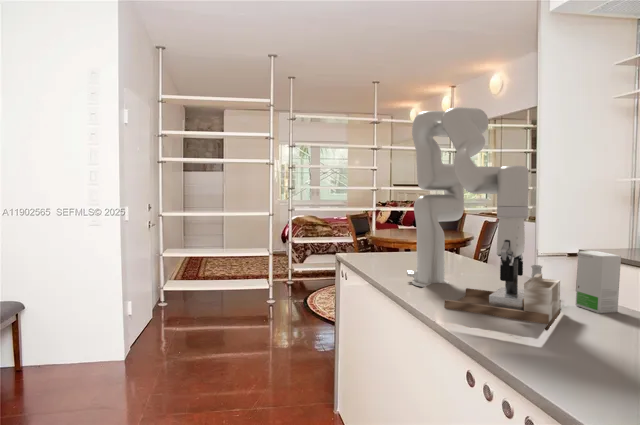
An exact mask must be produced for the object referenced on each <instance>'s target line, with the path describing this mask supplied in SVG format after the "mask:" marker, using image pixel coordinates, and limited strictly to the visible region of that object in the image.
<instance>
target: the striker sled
mask: <svg viewBox="0 0 640 425" xmlns="http://www.w3.org/2000/svg"><path fill="white" fill-rule="evenodd" d="M513 266H514V281H513V282H509V281H504V283H505V284H504V286H502V287H499V288H498V289H496V290H495V291H494V293H492V294H491V295H489V306H495V307H502V308H509V309H516V310H523V311H524V289H521V288H519V285H518V284H519V282H518V280H519V275H518V259H514V261H513Z"/></svg>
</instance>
